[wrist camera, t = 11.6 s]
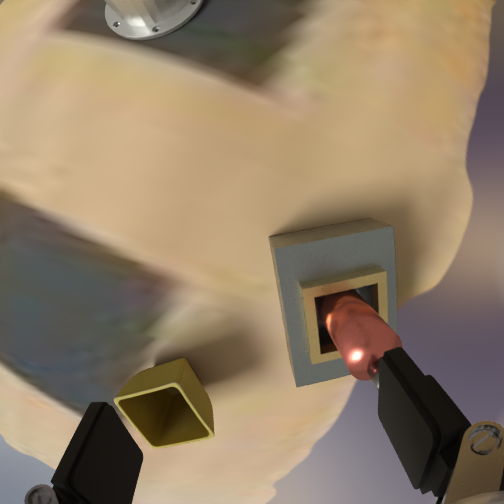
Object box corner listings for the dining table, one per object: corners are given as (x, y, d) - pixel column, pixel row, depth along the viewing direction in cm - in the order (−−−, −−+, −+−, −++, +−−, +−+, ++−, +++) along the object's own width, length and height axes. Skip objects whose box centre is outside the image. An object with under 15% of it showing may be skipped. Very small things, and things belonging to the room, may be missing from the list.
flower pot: (133, 358, 38) (111, 399, 29) (189, 339, 37) (176, 382, 28) (165, 405, 40) (153, 450, 31) (220, 390, 39) (216, 437, 30)
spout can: (308, 279, 33) (358, 355, 18) (348, 271, 33) (418, 338, 19) (312, 316, 35) (357, 405, 20) (350, 308, 35) (412, 388, 20)
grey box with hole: (268, 236, 34) (275, 252, 27) (370, 218, 34) (399, 228, 27) (289, 359, 38) (298, 395, 31) (377, 338, 38) (400, 368, 31)
